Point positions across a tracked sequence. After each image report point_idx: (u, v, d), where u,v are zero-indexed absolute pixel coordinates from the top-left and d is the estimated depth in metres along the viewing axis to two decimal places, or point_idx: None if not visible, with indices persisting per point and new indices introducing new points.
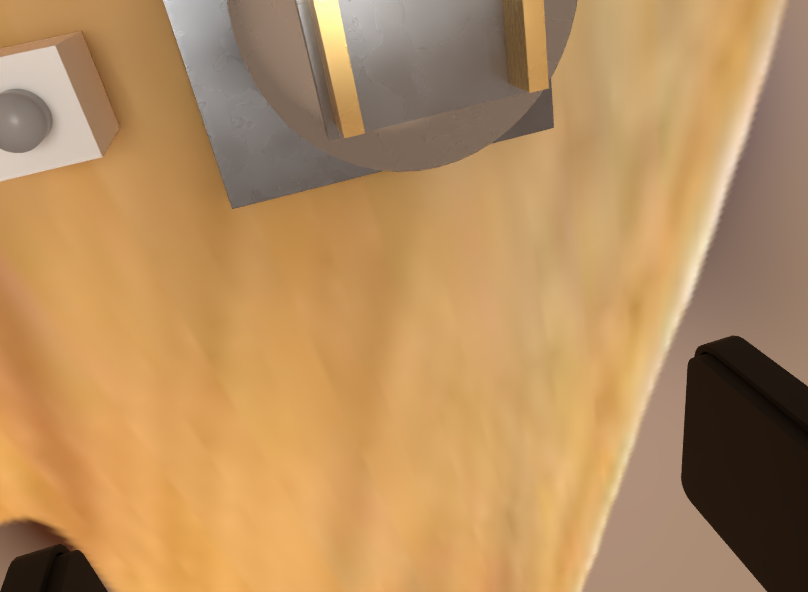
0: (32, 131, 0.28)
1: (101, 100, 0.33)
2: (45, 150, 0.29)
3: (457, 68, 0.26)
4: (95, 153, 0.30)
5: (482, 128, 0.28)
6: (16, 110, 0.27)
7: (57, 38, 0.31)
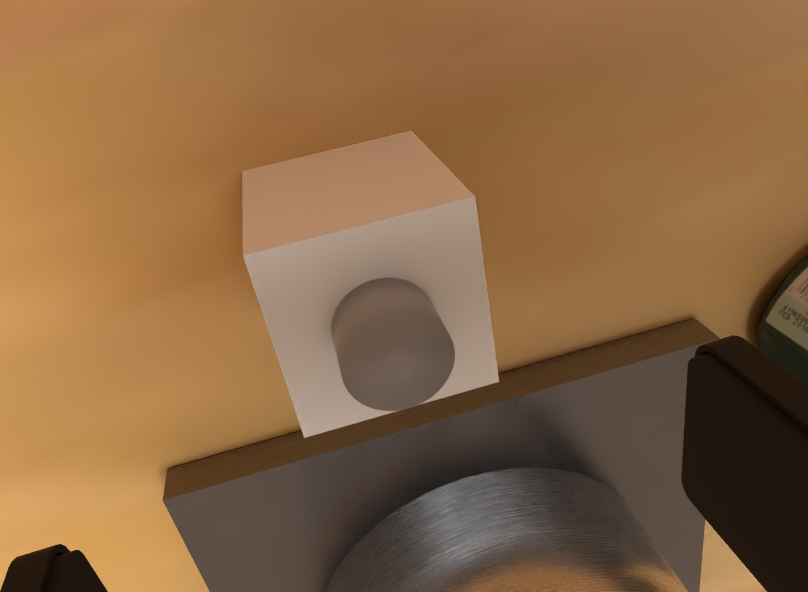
0: (384, 393, 0.14)
1: None
2: (317, 354, 0.15)
3: None
4: (311, 427, 0.16)
5: None
6: (426, 373, 0.14)
7: None
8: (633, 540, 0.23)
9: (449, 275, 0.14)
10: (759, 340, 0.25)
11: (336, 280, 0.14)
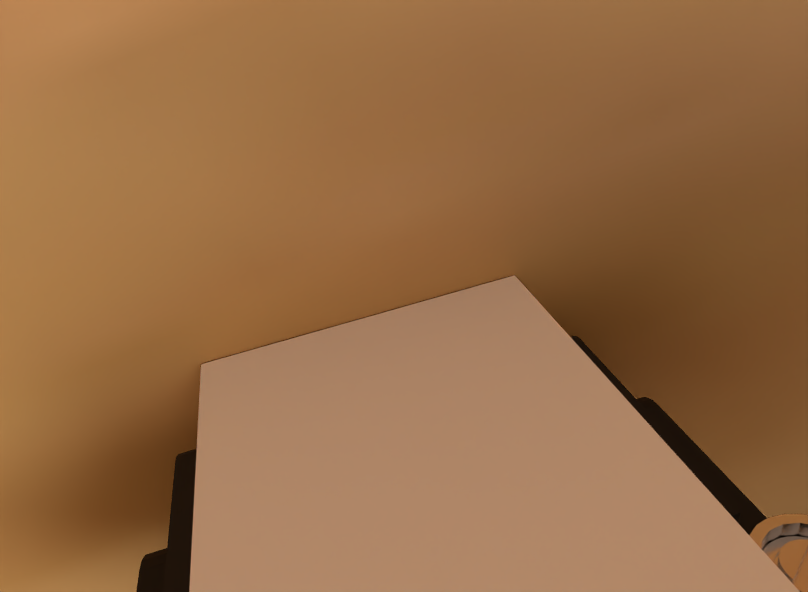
0: None
1: None
2: None
3: None
4: None
5: None
6: None
7: None
8: None
9: None
10: None
11: None
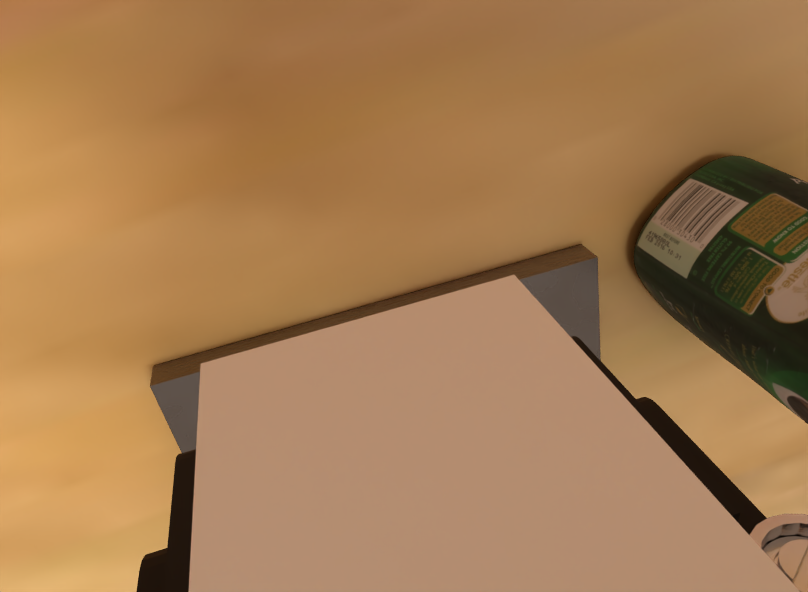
0: None
1: None
2: None
3: None
4: None
5: None
6: None
7: None
8: None
9: None
10: (634, 262, 0.31)
11: None
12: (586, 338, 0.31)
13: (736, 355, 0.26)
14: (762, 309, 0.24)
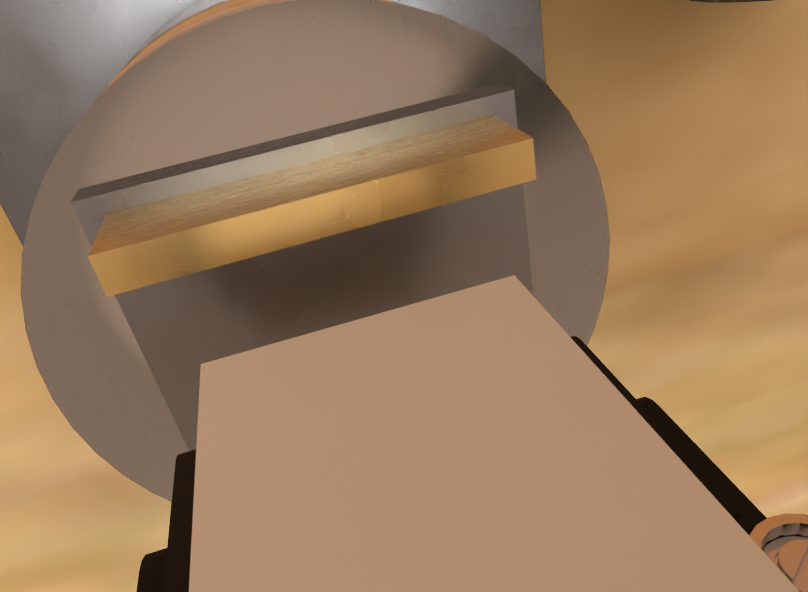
0: None
1: None
2: None
3: None
4: None
5: (141, 451, 0.16)
6: None
7: None
8: None
9: None
10: None
11: None
12: None
13: None
14: None
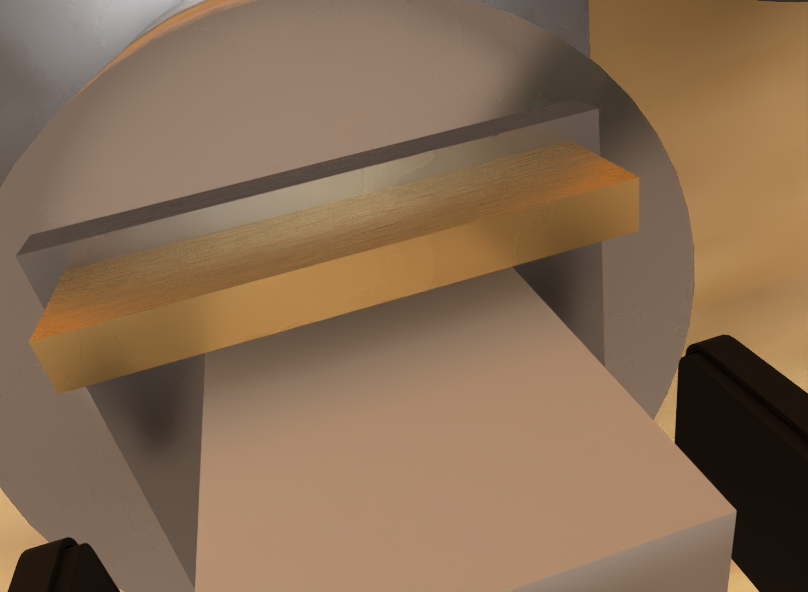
0: None
1: None
2: None
3: None
4: None
5: (117, 548, 0.13)
6: None
7: None
8: None
9: None
10: None
11: None
12: None
13: None
14: None
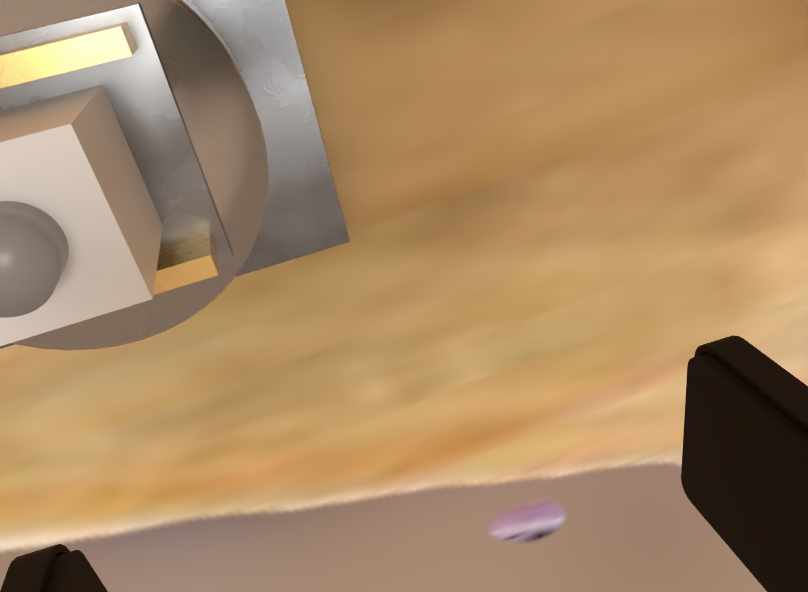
0: None
1: None
2: None
3: None
4: None
5: None
6: (30, 280, 0.15)
7: (151, 223, 0.21)
8: None
9: (68, 199, 0.16)
10: None
11: None
12: None
13: None
14: None
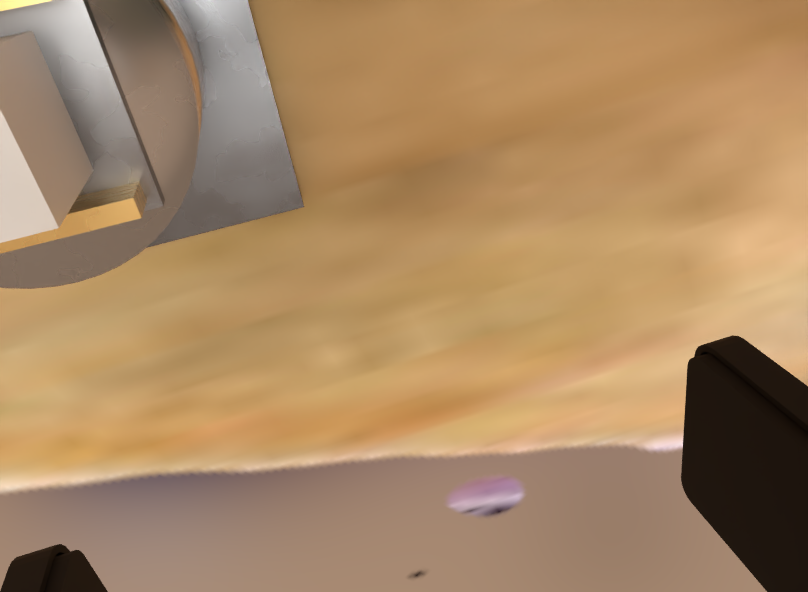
0: None
1: None
2: None
3: None
4: None
5: None
6: None
7: (74, 164, 0.22)
8: None
9: None
10: None
11: None
12: None
13: None
14: None
